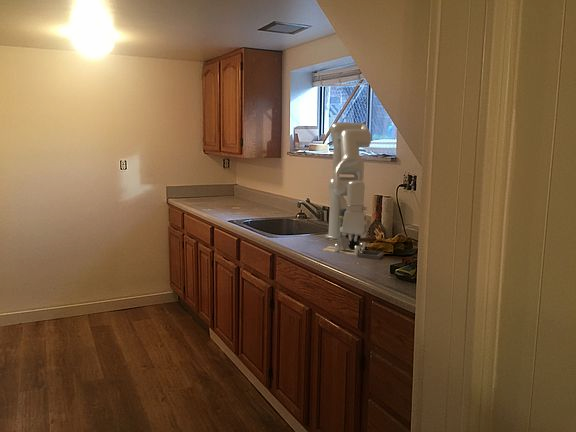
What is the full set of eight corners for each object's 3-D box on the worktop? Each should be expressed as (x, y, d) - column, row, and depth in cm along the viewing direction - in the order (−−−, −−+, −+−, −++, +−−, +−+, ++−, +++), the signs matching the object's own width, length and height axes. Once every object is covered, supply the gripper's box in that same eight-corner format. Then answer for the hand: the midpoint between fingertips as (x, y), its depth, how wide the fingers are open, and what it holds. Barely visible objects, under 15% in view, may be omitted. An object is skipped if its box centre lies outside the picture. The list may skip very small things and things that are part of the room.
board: (328, 247, 246) (328, 246, 246) (366, 251, 239) (366, 250, 239) (320, 251, 235) (320, 250, 235) (359, 256, 228) (359, 254, 228)
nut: (339, 250, 238) (335, 237, 238) (349, 247, 239) (345, 234, 239) (341, 250, 234) (337, 237, 234) (352, 247, 235) (348, 234, 235)
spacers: (341, 247, 243) (342, 240, 243) (365, 250, 239) (365, 242, 238) (334, 251, 233) (334, 244, 232) (358, 254, 228) (359, 246, 228)
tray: (362, 254, 232) (363, 250, 231) (383, 256, 228) (383, 252, 228) (357, 258, 223) (357, 253, 223) (378, 260, 220) (378, 256, 220)
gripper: (373, 209, 233) (371, 249, 236) (341, 206, 239) (339, 246, 241) (369, 210, 227) (367, 252, 229) (336, 208, 232) (334, 249, 234)
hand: (353, 249), depth 235 cm, fingers closed
